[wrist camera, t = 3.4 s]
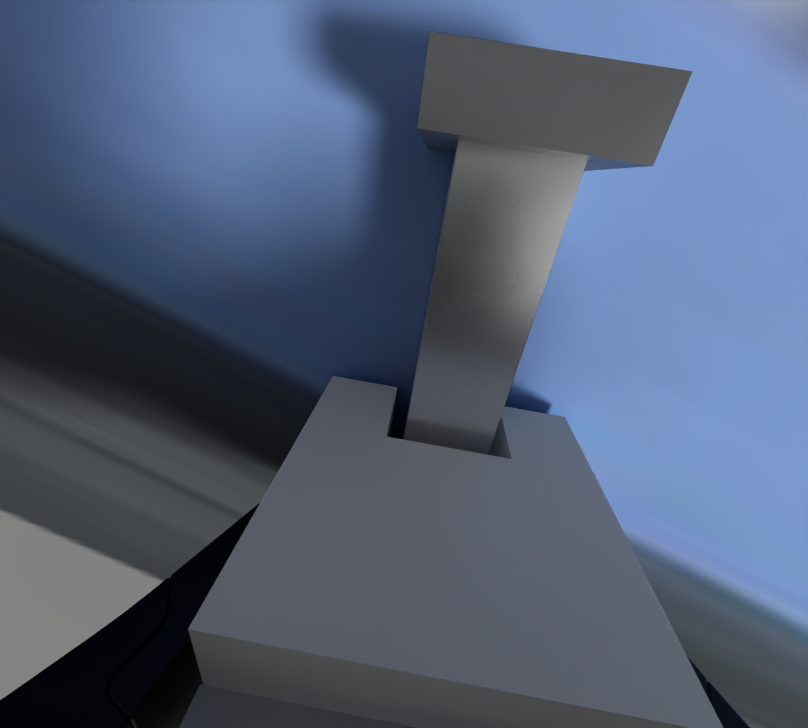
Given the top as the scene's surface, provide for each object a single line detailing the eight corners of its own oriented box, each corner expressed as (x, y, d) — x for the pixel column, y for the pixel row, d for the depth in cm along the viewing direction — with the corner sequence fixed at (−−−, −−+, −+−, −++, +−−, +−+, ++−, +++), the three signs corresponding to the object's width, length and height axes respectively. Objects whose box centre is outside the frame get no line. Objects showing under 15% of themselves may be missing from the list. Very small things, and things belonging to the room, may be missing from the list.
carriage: (513, 536, 12) (583, 899, 6) (324, 501, 12) (204, 820, 6) (566, 417, 10) (773, 818, 4) (331, 375, 10) (146, 692, 4)
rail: (436, 604, 15) (434, 690, 12) (360, 590, 15) (343, 672, 12) (601, 111, 7) (692, 71, 4) (435, 86, 7) (429, 30, 4)
